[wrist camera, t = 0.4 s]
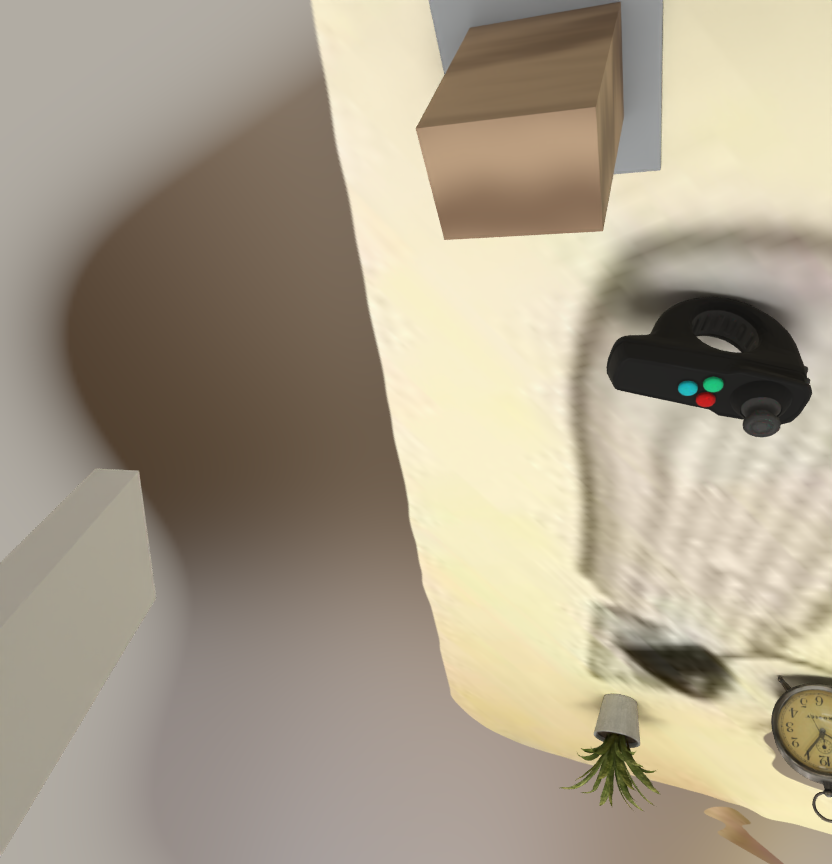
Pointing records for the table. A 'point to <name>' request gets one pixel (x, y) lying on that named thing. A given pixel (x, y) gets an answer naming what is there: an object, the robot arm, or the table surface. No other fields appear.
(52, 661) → the robot arm
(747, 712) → the table surface
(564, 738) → the table surface
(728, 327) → the controller
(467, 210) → the walnut block
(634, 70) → the gray tile
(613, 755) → the house plant
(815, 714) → the alarm clock
